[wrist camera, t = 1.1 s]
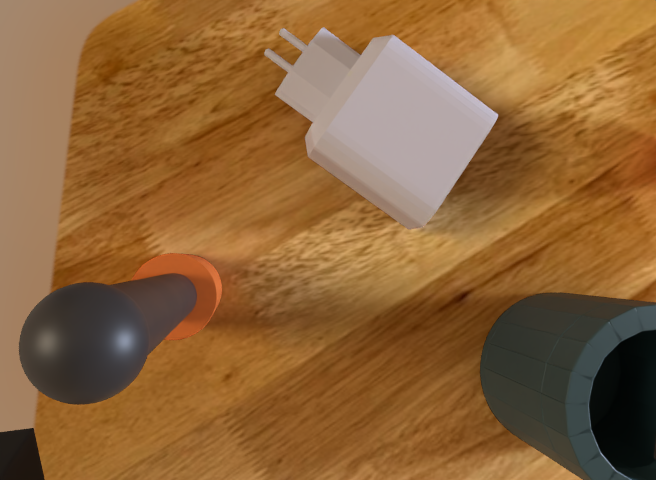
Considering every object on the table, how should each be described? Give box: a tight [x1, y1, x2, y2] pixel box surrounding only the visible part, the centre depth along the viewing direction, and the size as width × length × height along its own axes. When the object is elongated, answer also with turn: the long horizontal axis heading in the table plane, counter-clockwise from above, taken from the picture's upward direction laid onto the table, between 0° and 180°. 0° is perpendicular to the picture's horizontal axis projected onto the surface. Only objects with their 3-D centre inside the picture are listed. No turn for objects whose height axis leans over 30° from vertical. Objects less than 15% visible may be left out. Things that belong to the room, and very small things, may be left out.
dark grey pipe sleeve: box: [480, 293, 656, 480], centre depth 36 cm, size 11×11×11 cm
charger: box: [264, 27, 498, 229], centre depth 38 cm, size 5×9×15 cm
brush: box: [19, 253, 222, 404], centre depth 25 cm, size 5×5×26 cm
